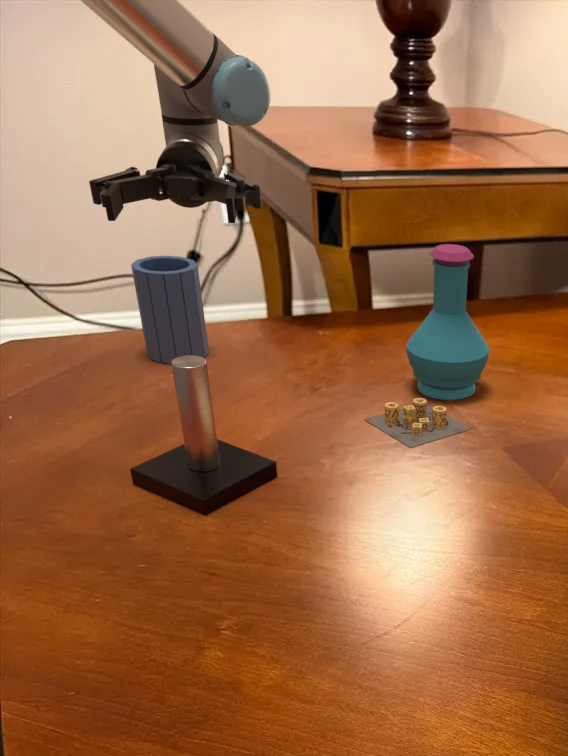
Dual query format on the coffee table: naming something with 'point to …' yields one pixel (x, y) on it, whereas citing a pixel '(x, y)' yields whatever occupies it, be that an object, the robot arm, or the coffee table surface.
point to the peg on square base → (201, 451)
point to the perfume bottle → (448, 332)
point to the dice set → (416, 422)
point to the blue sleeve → (170, 307)
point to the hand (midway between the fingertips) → (170, 209)
